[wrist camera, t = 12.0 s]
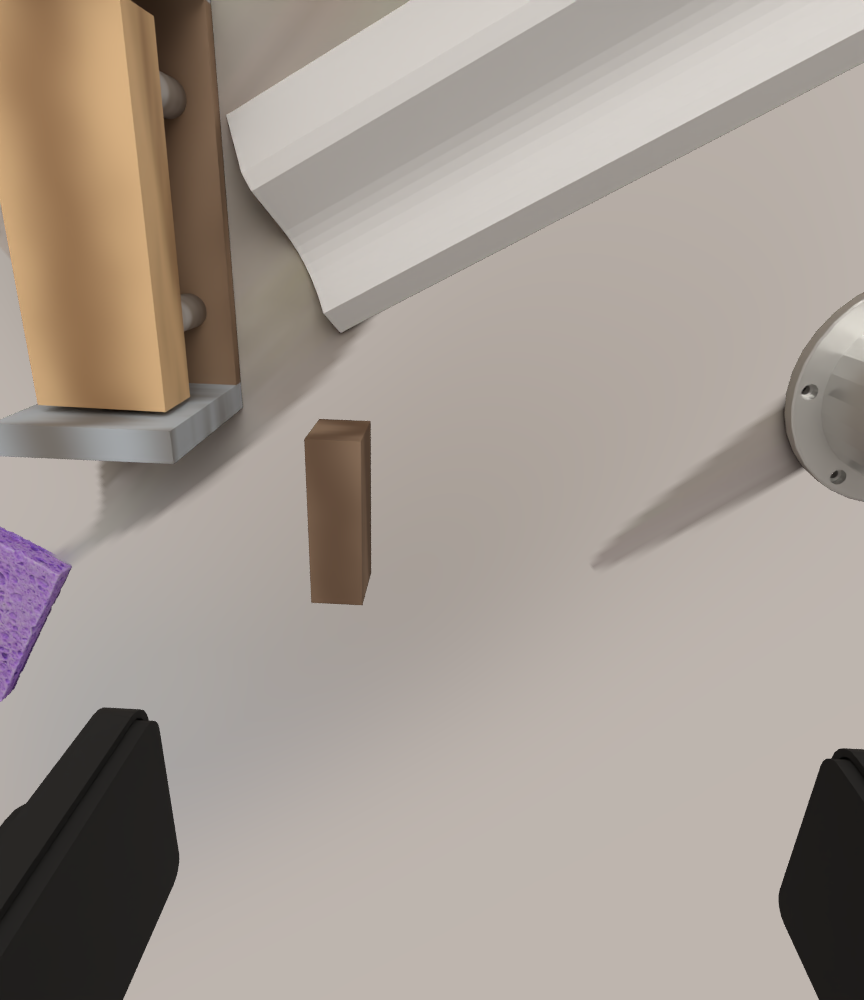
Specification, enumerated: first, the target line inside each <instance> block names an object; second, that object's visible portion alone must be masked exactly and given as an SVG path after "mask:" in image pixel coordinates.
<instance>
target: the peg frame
mask: <svg viewBox="0 0 864 1000" xmlns="http://www.w3.org/2000/svg"><path fill="white" fill-rule="evenodd" d="M131 1H132V2H134V3H135V4H137V5H138V6H139V7H141V8H142V9H144V10H145V11H147V12H148V13H150V14H151V15H153V16H154V23H155V34H156V44H157V55H158V65H159V76H160V86H161V97H162V107H163V118H164V128H165V139H166V149H167V160H168V170H169V181H170V191H171V202H172V212H173V223H174V233H175V244H176V254H177V265H178V275H179V286H180V296H181V306H182V317H183V327H184V338H185V348H186V359H187V369H188V380H189V390H190V397H189V398H187V399H186V400H184V401H183V402H181V403H179V404H178V405H176V406H175V407H173V408H171V409H170V410H168V411H167V412H154V411H136V410H118V409H100V408H82V407H64V406H46V405H38V404H36V405H34V406H31V407H29V408H27V409H24V410H22V411H19V412H18V413H15V414H13V415H10V416H7V417H5V418H3V419H0V456H9V457H32V458H56V459H77V460H99V461H121V462H144V463H166V464H174V463H175V462H177V461H178V460H179V459H180V458H182V457H183V456H184V455H185V454H186V453H188V452H189V451H190V450H191V449H193V448H194V447H195V446H196V445H197V444H199V443H200V442H201V441H202V440H204V439H205V438H206V437H207V436H208V435H210V434H211V433H212V432H213V431H215V430H216V429H217V428H218V427H219V426H221V425H222V424H223V423H224V422H226V421H227V420H228V419H229V418H230V417H232V416H233V415H234V414H235V413H237V412H238V411H239V410H240V409H241V408H243V406H242V393H241V380H240V368H239V355H238V342H237V330H236V317H235V304H234V291H233V279H232V266H231V253H230V241H229V228H228V215H227V203H226V190H225V177H224V165H223V152H222V139H221V126H220V114H219V101H218V88H217V76H216V63H215V50H214V38H213V25H212V12H211V0H131Z"/></svg>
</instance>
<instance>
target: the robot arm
mask: <svg viewBox="0 0 864 1000" xmlns="http://www.w3.org/2000/svg"><path fill="white" fill-rule="evenodd" d="M805 386H806V390H805V391H804V392H802V390H803V388H804V387H805ZM784 415H785V424H786V432H787V436H788V439H789V442H790V445H791V447H792V450H793V452H794V454H795V456H796V457H797V459H798V460H799V462H800V463H801V465H802V466H803V468H804V469H805V470H807V471H808V472H809V473H810V474H811V475H812V476H813V477H814V478H815V479H816V480H817V481H819V482H820V483H821V484H823V485H824V486H826V487H827V488H829V489H830V490H832V491H834V492H836V493H838V494H841V495H843V496H845V497H847V498H850V499H854V500H859V501H863V502H864V292H863V293H862V294H860V295H858V296H856V297H855V298H853V299H852V300H851V301H849V302H848V303H847V304H845V305H844V306H843V307H841V308H840V309H839V310H837V311H836V312H835V313H834V314H833V315H832V316H831V317H830V318H829V319H828V320H827V321H826V322H825V323H824V324H823V325H822V326H821V327H820V328H819V329H818V330H817V331H816V333H815V334H814V336H813V337H812V338H811V340H810V341H809V343H808V344H807V345H806V347H805V348H804V350H803V351H802V353H801V355H800V357H799V359H798V362H797V364H796V366H795V368H794V370H793V372H792V375H791V379H790V382H789V385H788V389H787V392H786V402H785V413H784ZM832 473H833V474H832ZM178 866H179V851H178V845H177V839H176V832H175V825H174V819H173V813H172V806H171V800H170V794H169V787H168V781H167V774H166V768H165V762H164V756H163V749H162V743H161V736H160V731H159V726H158V724H157V722H156V721H149V720H148V717H147V714H146V713H145V711H144V710H140V709H121V708H102V709H99V710H98V711H97V712H96V713H95V714H94V715H93V716H92V717H91V719H90V720H89V721H88V723H87V724H86V725H85V727H84V728H83V729H82V731H81V732H80V733H79V735H78V736H77V737H76V738H75V740H74V741H73V742H72V744H71V745H70V746H69V748H68V749H67V750H66V752H65V753H64V754H63V756H62V757H61V758H60V760H59V761H58V762H57V764H56V765H55V766H54V767H53V769H52V770H51V772H50V773H49V774H48V775H47V777H46V778H45V779H44V781H43V782H42V783H41V785H40V786H39V787H38V789H37V790H36V791H35V793H34V794H33V795H32V796H31V798H30V799H29V801H28V802H27V803H26V804H24V805H23V806H21V807H19V808H17V809H16V810H14V811H13V812H12V813H11V815H10V816H9V817H8V818H7V819H6V820H5V821H4V823H3V824H2V825H1V826H0V1000H123V998H124V996H125V994H126V991H127V989H128V987H129V984H130V982H131V980H132V978H133V976H134V973H135V971H136V969H137V967H138V964H139V962H140V960H141V957H142V955H143V953H144V951H145V948H146V946H147V944H148V942H149V939H150V937H151V935H152V932H153V930H154V928H155V926H156V923H157V921H158V919H159V916H160V914H161V912H162V910H163V907H164V905H165V903H166V900H167V898H168V896H169V894H170V891H171V889H172V887H173V885H174V882H175V879H176V876H177V872H178ZM779 908H780V913H781V917H782V919H783V922H784V925H785V927H786V929H787V931H788V933H789V936H790V938H791V940H792V942H793V944H794V946H795V949H796V951H797V953H798V955H799V957H800V959H801V961H802V964H803V966H804V968H805V970H806V972H807V975H808V977H809V979H810V981H811V983H812V985H813V987H814V990H815V992H816V994H817V996H818V998H819V1000H864V750H863V749H838V750H837V751H836V752H835V753H834V755H833V757H832V759H825V760H824V761H823V762H822V764H821V766H820V770H819V773H818V775H817V779H816V782H815V785H814V788H813V791H812V794H811V797H810V800H809V803H808V806H807V809H806V812H805V815H804V818H803V821H802V824H801V827H800V830H799V833H798V836H797V839H796V842H795V845H794V849H793V851H792V854H791V857H790V860H789V863H788V867H787V869H786V873H785V876H784V879H783V882H782V885H781V888H780V891H779Z"/></svg>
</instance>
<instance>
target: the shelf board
mask: <svg viewBox="0 0 864 1000" xmlns="http://www.w3.org/2000/svg"><path fill="white" fill-rule="evenodd" d="M0 203H1V208H2V213H3V219H4V224H5V230H6V235H7V240H8V246H9V251H10V257H11V262H12V267H13V273H14V278H15V284H16V289H17V294H18V300H19V305H20V311H21V316H22V321H23V327H24V332H25V337H26V343H27V348H28V354H29V359H30V365H31V369H32V375H33V381H34V386H35V392H36V396H37V402H38V405H46V406H64V407H82V408H100V409H118V410H136V411H154V412H167V411H168V410H170V409H171V408H173V407H175V406H176V405H178V404H179V403H181V402H183V401H184V400H186V399H187V398H189V397H190V390H189V380H188V369H187V359H186V348H185V338H184V327H183V317H182V306H181V296H180V286H179V275H178V265H177V254H176V244H175V233H174V223H173V212H172V202H171V191H170V181H169V170H168V160H167V149H166V139H165V128H164V118H163V107H162V97H161V86H160V76H159V65H158V55H157V44H156V34H155V23H154V16H153V15H151V14H150V13H148V12H147V11H145V10H144V9H142V8H141V7H139V6H138V5H137V4H135V3H134V2H132V1H131V0H0Z"/></svg>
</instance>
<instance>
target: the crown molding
mask: <svg viewBox="0 0 864 1000" xmlns="http://www.w3.org/2000/svg"><path fill="white" fill-rule="evenodd" d="M862 63H864V0H411V1H409V2H407V3H406V4H404V5H402V6H401V7H399V8H398V9H396V10H394V11H393V12H391V13H390V14H388V15H386V16H385V17H383V18H382V19H380V20H378V21H377V22H375V23H374V24H372V25H370V26H369V27H367V28H366V29H364V30H362V31H361V32H359V33H357V34H356V35H354V36H353V37H351V38H349V39H348V40H346V41H345V42H343V43H341V44H340V45H338V46H337V47H335V48H333V49H332V50H330V51H329V52H327V53H325V54H324V55H322V56H321V57H319V58H317V59H316V60H314V61H312V62H311V63H309V64H308V65H306V66H304V67H303V68H301V69H300V70H298V71H296V72H295V73H293V74H292V75H290V76H288V77H287V78H285V79H284V80H282V81H280V82H279V83H277V84H276V85H274V86H272V87H271V88H269V89H267V90H266V91H264V92H263V93H261V94H259V95H258V96H256V97H255V98H253V99H251V100H250V101H248V102H247V103H245V104H243V105H242V106H240V107H239V108H237V109H235V110H234V111H232V112H231V113H229V114H227V115H226V116H227V120H228V124H229V127H230V131H231V135H232V139H233V143H234V146H235V150H236V154H237V158H238V162H239V165H240V169H241V173H242V175H243V177H244V179H245V180H246V182H247V184H248V186H249V188H250V190H251V191H252V193H253V194H254V195H255V196H256V198H257V199H258V200H259V201H260V202H261V204H262V205H263V206H264V207H265V209H266V210H267V211H268V212H269V214H270V215H271V216H272V217H273V219H274V220H275V221H276V222H277V223H278V225H279V226H280V227H281V228H282V230H283V231H284V232H285V233H286V235H287V236H288V238H289V239H290V240H291V242H292V243H293V245H294V247H295V248H296V250H297V251H298V253H299V255H300V256H301V258H302V260H303V262H304V264H305V266H306V268H307V270H308V272H309V274H310V276H311V279H312V281H313V284H314V286H315V289H316V291H317V294H318V297H319V300H320V303H321V307H322V310H323V313H324V315H325V316H326V317H327V318H328V319H329V320H330V321H331V323H332V324H333V325H334V326H335V327H336V328H337V329H338V331H339V332H340V333H341V332H343V331H345V330H347V329H349V328H351V327H353V326H355V325H357V324H359V323H361V322H363V321H364V320H366V319H368V318H370V317H372V316H374V315H376V314H378V313H380V312H382V311H384V310H386V309H388V308H390V307H391V306H393V305H395V304H397V303H399V302H401V301H403V300H405V299H407V298H409V297H411V296H413V295H415V294H417V293H419V292H420V291H422V290H424V289H426V288H428V287H430V286H432V285H434V284H436V283H438V282H440V281H442V280H444V279H446V278H447V277H450V276H452V275H453V274H455V273H457V272H459V271H461V270H463V269H465V268H467V267H469V266H471V265H473V264H475V263H477V262H479V261H481V260H483V259H484V258H486V257H488V256H490V255H492V254H494V253H496V252H498V251H500V250H502V249H504V248H506V247H508V246H510V245H512V244H513V243H515V242H517V241H519V240H521V239H523V238H525V237H527V236H529V235H531V234H533V233H535V232H537V231H539V230H541V229H542V228H544V227H546V226H548V225H550V224H552V223H554V222H556V221H558V220H560V219H562V218H564V217H566V216H568V215H570V214H572V213H573V212H575V211H577V210H579V209H581V208H583V207H585V206H587V205H589V204H590V203H593V202H595V201H597V200H598V199H600V198H602V197H604V196H606V195H608V194H610V193H612V192H614V191H616V190H618V189H620V188H622V187H624V186H626V185H628V184H629V183H632V182H633V181H635V180H637V179H639V178H641V177H643V176H645V175H647V174H649V173H651V172H652V171H655V170H657V169H659V168H661V167H662V166H664V165H666V164H668V163H670V162H672V161H674V160H676V159H678V158H680V157H682V156H684V155H686V154H688V153H690V152H691V151H693V150H695V149H697V148H699V147H701V146H703V145H705V144H707V143H709V142H711V141H712V140H715V139H717V138H719V137H721V136H722V135H724V134H726V133H728V132H730V131H732V130H734V129H736V128H738V127H740V126H742V125H744V124H746V123H748V122H749V121H751V120H753V119H755V118H757V117H759V116H761V115H763V114H765V113H767V112H769V111H771V110H772V109H775V108H777V107H779V106H780V105H782V104H784V103H786V102H788V101H790V100H792V99H794V98H796V97H798V96H800V95H802V94H803V93H805V92H808V91H810V90H811V89H813V88H815V87H817V86H819V85H821V84H823V83H825V82H827V81H829V80H831V79H833V78H834V77H836V76H839V75H840V74H842V73H844V72H846V71H848V70H850V69H852V68H854V67H856V66H858V65H860V64H862Z"/></svg>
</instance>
